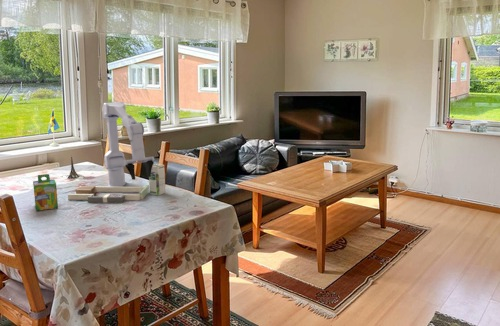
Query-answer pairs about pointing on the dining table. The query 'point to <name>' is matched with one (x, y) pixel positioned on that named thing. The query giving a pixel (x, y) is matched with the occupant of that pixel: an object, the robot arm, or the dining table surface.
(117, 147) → the robot arm
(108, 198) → the trap lane
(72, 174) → the eiffel tower figurine
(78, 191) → the walnut block
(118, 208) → the dining table surface
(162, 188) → the syrup box
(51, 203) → the chalk box
